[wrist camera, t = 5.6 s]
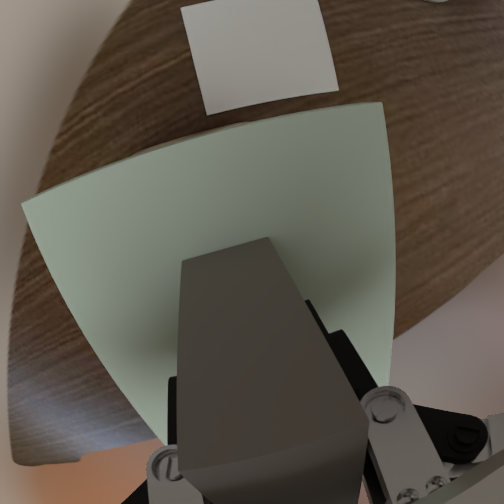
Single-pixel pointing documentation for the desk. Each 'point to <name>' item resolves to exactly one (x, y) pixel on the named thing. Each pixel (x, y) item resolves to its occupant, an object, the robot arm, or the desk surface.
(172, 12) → the desk surface
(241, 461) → the lid
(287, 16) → the mat
